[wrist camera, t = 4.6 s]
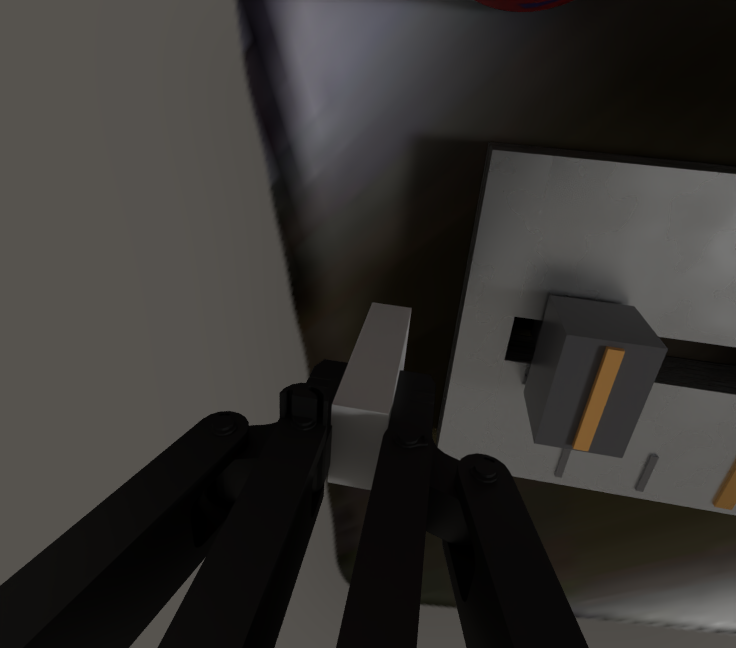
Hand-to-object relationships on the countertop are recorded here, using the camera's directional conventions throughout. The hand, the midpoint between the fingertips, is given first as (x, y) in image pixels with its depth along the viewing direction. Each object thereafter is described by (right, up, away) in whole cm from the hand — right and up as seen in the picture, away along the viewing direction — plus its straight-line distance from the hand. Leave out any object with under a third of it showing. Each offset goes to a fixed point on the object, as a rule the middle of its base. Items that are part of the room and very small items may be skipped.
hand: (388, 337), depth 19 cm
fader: (+8, +1, +3) cm, 8 cm away
